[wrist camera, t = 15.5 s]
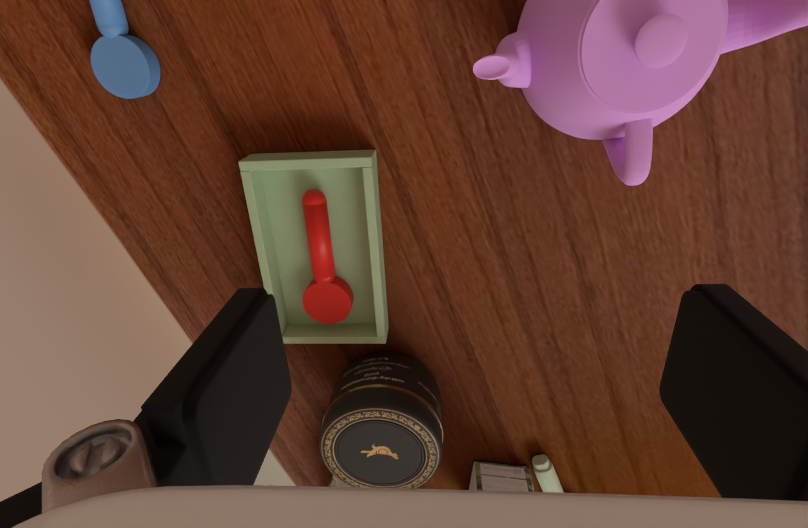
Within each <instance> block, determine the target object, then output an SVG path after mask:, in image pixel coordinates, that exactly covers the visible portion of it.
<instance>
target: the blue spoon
mask: <svg viewBox="0 0 808 528" xmlns="http://www.w3.org/2000/svg"><path fill="white" fill-rule="evenodd" d="M89 1H90V5H91V8H92V11H93V15H94V18H95V21H96V25H97V27H98V30H99V31H100V33H101V34H102V35H103V36H102V37H100V38H99V39H98V40H97V41H96V42H95V43H94V45H93V47H92V50H91V65H92V69H93V72H94V74H95V76H96V78H97V79H98V81H99V82H100V84H101V85H102V86H103V87H104V88H105V89H106V90H107V91H109V92H110V93H112V94H113V95H115V96H118V97H121V98H125V99H131V98H138V97H143V96H147V95H149V94H151V93H152V92H153V91H155V89H156V88H157V86H158V84H159V81H160V74H161V72H160V65H159V62H158V59H157V57H156V55H155V54H154V52H153V51H152V49H151V48H150V47H149V46H148V45H147V44H146V43H145V42H144V41H142V40H141V39H139V38H137V37H135V36H132V35H128V31H129V27H128V23H127V19H126V16H125V12H124V8H123V5H122V1H121V0H89Z"/></svg>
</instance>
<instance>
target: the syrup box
mask: <svg viewBox="0 0 808 528" xmlns="http://www.w3.org/2000/svg"><path fill="white" fill-rule="evenodd" d="M469 490H484V491H520V492H534V489H533V484H532V480H531V475H530V470H529V467H526V466H516V465H507V464H498V463H488V462H478V461H475V462H474V464H473V469H472V475H471V480H470V486H469Z"/></svg>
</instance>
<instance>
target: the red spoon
mask: <svg viewBox="0 0 808 528" xmlns="http://www.w3.org/2000/svg"><path fill="white" fill-rule="evenodd" d="M302 206H303V213H304V220H305V226H306V233H307V240H308V246H309V253H310V260H311V267H312V273H313V278H314V279H313V280H312V281H311V282H310V283H309V285H308V286H307V288H306V290H305V292H304V294H303V300H302V301H303V306H304V309H305V311H306V312H307V314H308V315H309V316H310V317H311V318H313V319H314V320H316V321H318V322H320V323H324V324H334V323H338V322H340V321H342V320H344V319H345V318H346V317H347V316H348V314H349V312H350V310H351V307H352V304H353V299H354V295H353V291H352V289H351V287H350V285H349V284H348V283H347V282H346V281H345V280H343V279H342V278H340V277H338V276H335V264H334V256H333V248H332V240H331V232H330V224H329V216H328V208H327V200H326V197H325V195H324V193H323V192H322V191H320V190H318V189H310V190H308V191H306V192H305V193H304V195H303V197H302Z"/></svg>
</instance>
